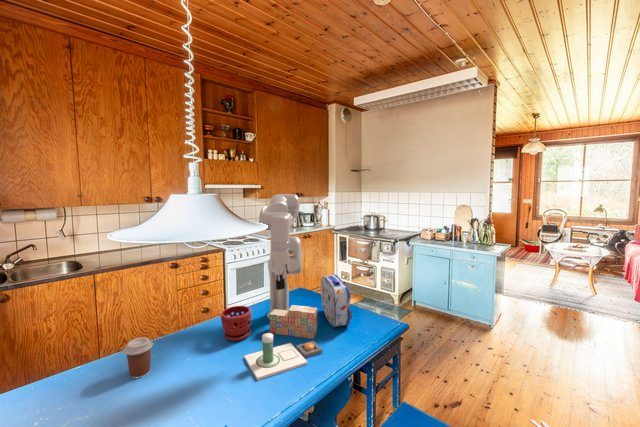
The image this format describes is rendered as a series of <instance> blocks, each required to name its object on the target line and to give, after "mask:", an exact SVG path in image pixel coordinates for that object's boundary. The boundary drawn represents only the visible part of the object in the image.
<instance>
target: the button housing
mask: <svg viewBox="0 0 640 427" xmlns="http://www.w3.org/2000/svg"><path fill="white" fill-rule="evenodd" d="M306 343H313V344H314V350H311V351H308V352H306V351H305V350H304V345H305V344H306ZM295 347H296V348H295V349H296V350H297V351H298V352H299V353H300V354H301V355H302V356H303V357H304V358H305V359H308V358H311V357H313V356H317V355H320V354H323V348H322V347H320V346H319V344H317V342H315V341H314V340H309V341H307V342H304V343H300V344H296V346H295Z"/></svg>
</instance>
